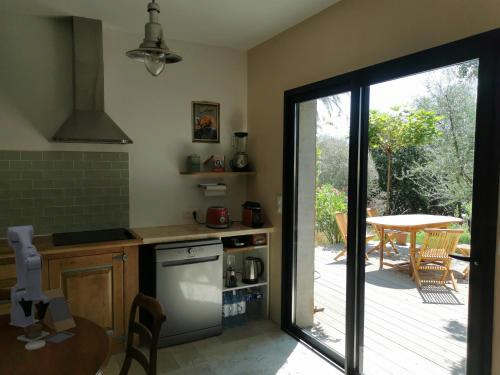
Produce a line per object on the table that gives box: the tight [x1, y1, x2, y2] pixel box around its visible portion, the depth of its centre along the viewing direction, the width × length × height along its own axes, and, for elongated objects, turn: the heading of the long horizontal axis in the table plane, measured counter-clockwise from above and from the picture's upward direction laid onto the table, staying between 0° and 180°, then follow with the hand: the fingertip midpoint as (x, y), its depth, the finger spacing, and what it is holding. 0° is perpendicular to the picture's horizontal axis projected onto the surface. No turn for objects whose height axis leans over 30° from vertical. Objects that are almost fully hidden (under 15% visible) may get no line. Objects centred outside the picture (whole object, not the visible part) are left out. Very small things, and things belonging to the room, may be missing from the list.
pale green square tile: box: [16, 330, 50, 343], centre depth 160 cm, size 8×8×1 cm
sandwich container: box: [42, 287, 77, 333], centre depth 171 cm, size 9×15×15 cm, turn 49°
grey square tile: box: [42, 330, 76, 345], centre depth 158 cm, size 8×8×1 cm
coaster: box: [24, 339, 46, 351], centre depth 152 cm, size 7×7×1 cm
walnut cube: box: [23, 322, 43, 340], centre depth 160 cm, size 4×4×5 cm
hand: (34, 317), depth 159 cm, fingers open, 7 cm apart
